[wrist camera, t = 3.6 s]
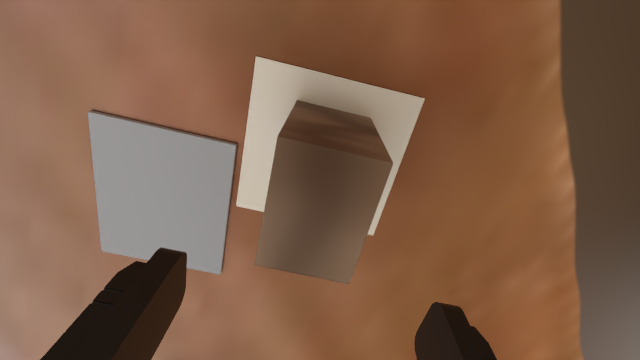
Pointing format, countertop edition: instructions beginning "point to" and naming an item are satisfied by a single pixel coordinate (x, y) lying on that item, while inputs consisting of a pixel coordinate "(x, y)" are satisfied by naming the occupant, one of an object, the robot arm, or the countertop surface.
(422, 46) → the countertop surface
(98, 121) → the slate pad
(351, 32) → the countertop surface
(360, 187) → the walnut block
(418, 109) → the card
